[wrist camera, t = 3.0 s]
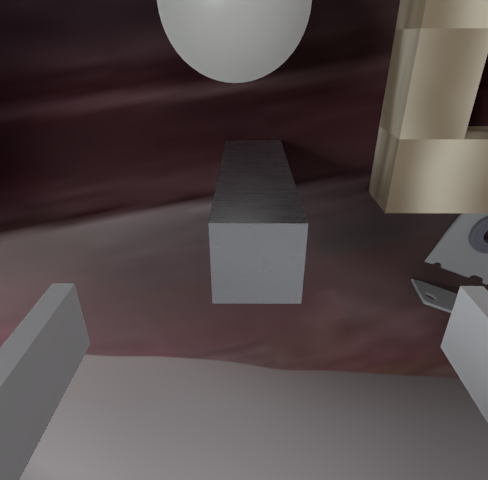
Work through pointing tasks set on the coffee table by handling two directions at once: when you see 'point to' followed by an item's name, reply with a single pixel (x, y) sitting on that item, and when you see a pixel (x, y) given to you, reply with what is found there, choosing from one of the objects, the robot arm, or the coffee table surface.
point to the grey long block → (256, 227)
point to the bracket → (458, 257)
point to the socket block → (433, 111)
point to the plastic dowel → (234, 34)
